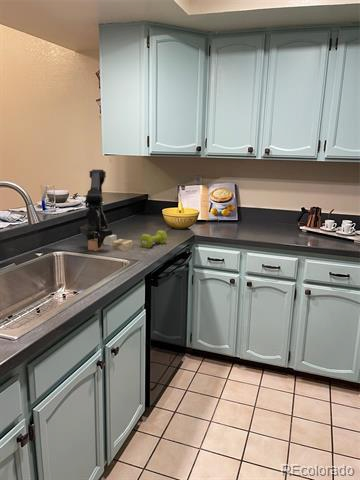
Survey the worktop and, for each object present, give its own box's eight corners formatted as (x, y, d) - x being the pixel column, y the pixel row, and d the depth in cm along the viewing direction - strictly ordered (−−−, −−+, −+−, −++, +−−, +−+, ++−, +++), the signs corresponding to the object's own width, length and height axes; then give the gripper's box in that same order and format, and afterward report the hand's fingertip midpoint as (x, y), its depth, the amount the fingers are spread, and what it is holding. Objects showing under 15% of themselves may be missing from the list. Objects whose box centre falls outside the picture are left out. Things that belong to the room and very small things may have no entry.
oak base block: (111, 249, 202) (111, 241, 201) (120, 246, 209) (120, 238, 208) (124, 251, 198) (124, 243, 198) (133, 248, 205) (133, 240, 205)
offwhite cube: (103, 244, 210) (103, 235, 209) (109, 242, 215) (109, 234, 213) (110, 245, 208) (110, 236, 207) (116, 244, 212) (116, 235, 211)
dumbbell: (149, 249, 203) (149, 236, 201) (138, 246, 207) (138, 233, 206) (168, 243, 216) (168, 231, 214) (157, 241, 220) (157, 229, 219)
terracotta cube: (88, 249, 199) (88, 240, 198) (95, 247, 203) (94, 238, 202) (95, 251, 196) (95, 241, 195) (102, 249, 201) (102, 239, 200)
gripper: (69, 218, 194) (70, 248, 197) (97, 222, 185) (98, 253, 188) (85, 215, 203) (86, 243, 207) (112, 218, 194) (113, 248, 198)
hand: (95, 247), depth 200 cm, fingers closed on terracotta cube, 5 cm apart
